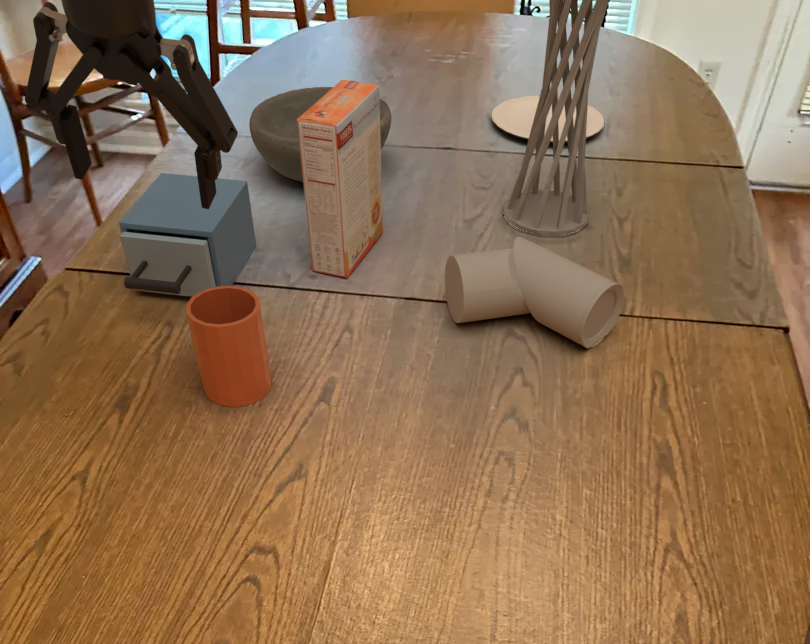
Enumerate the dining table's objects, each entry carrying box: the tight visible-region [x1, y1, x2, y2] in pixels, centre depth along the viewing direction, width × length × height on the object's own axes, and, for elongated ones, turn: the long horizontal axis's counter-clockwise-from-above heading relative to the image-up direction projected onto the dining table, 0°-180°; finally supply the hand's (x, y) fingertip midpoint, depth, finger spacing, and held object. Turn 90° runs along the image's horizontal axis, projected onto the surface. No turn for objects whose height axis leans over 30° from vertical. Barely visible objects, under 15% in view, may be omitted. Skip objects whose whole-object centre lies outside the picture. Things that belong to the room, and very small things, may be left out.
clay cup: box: [185, 285, 272, 408], centre depth 90 cm, size 8×8×11 cm
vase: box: [502, 0, 610, 239], centre depth 110 cm, size 14×13×35 cm
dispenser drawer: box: [119, 229, 216, 297], centre depth 105 cm, size 19×11×8 cm, turn 170°
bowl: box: [248, 86, 392, 183], centre depth 129 cm, size 23×22×10 cm
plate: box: [490, 95, 605, 144], centre depth 145 cm, size 21×21×2 cm
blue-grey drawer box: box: [118, 172, 257, 287], centre depth 109 cm, size 15×13×10 cm
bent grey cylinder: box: [444, 236, 625, 349], centre depth 101 cm, size 18×10×20 cm
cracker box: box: [297, 79, 384, 279], centre depth 107 cm, size 14×6×21 cm, turn 159°
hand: (146, 185), depth 83 cm, fingers open, 13 cm apart
